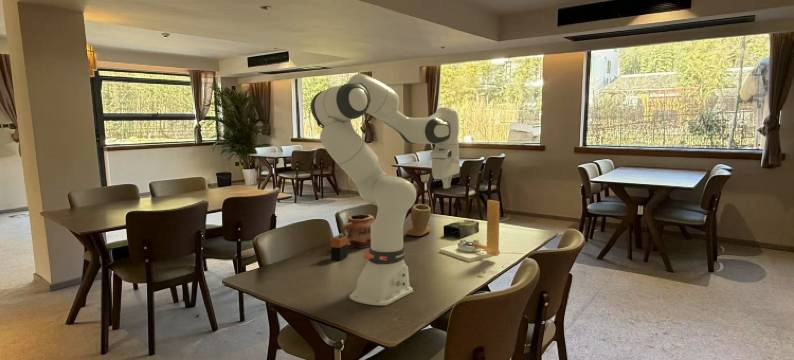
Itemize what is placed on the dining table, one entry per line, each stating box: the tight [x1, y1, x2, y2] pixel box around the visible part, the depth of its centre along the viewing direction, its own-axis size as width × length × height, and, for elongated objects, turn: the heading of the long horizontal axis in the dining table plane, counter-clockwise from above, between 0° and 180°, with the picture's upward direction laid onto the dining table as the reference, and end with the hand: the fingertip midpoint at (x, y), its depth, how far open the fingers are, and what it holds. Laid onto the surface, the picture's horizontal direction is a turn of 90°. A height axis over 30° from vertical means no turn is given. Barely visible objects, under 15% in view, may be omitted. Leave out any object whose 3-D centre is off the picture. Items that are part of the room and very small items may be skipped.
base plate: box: [439, 243, 501, 263], centre depth 198 cm, size 18×18×2 cm
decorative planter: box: [341, 214, 376, 249], centre depth 209 cm, size 20×12×14 cm, turn 141°
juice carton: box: [443, 219, 480, 239], centre depth 230 cm, size 20×10×6 cm, turn 140°
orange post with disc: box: [457, 199, 501, 257], centre depth 192 cm, size 20×10×23 cm, turn 36°
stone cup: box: [405, 203, 432, 237], centre depth 230 cm, size 15×12×15 cm
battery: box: [330, 233, 349, 262], centre depth 191 cm, size 4×7×10 cm, turn 155°
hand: (446, 188), depth 176 cm, fingers closed
